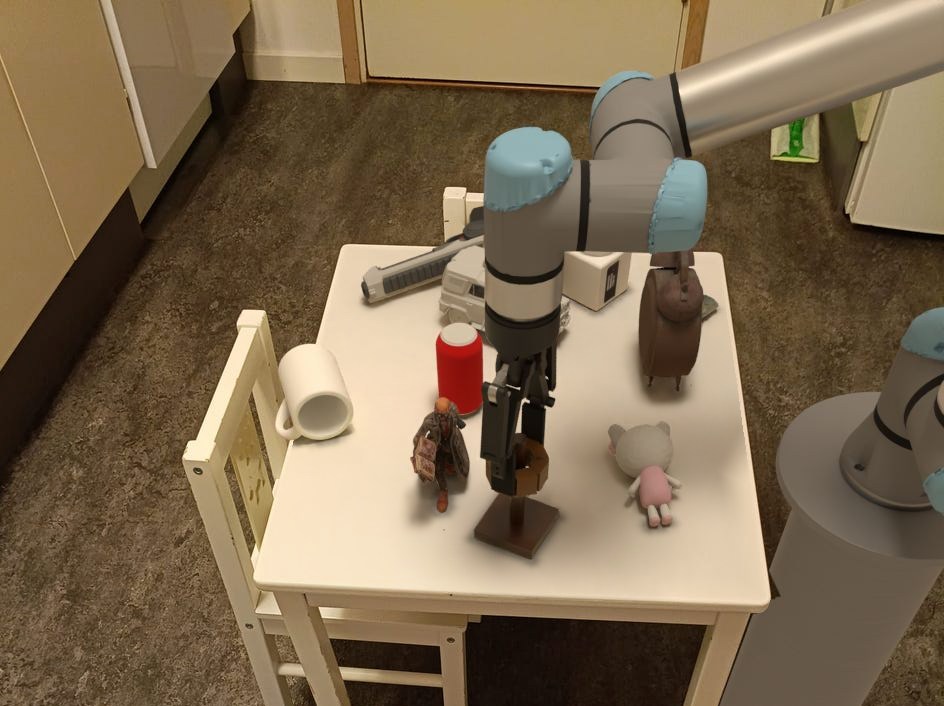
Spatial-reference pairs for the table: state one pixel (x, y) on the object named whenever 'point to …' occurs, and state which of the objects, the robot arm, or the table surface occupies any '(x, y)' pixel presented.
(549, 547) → the table surface
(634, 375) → the table surface
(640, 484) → the toy
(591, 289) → the container
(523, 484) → the ring
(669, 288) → the alarm clock
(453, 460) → the figurine
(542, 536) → the peg stand
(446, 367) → the beverage can
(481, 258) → the toy car
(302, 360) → the mug
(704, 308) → the stone
